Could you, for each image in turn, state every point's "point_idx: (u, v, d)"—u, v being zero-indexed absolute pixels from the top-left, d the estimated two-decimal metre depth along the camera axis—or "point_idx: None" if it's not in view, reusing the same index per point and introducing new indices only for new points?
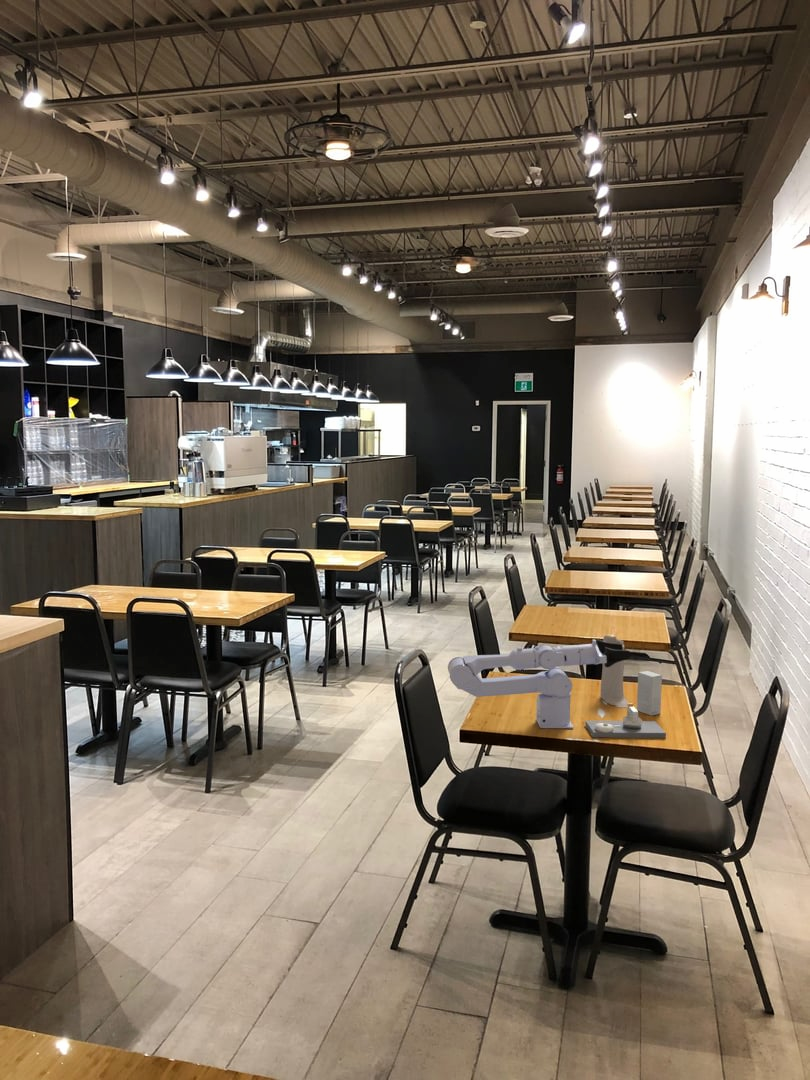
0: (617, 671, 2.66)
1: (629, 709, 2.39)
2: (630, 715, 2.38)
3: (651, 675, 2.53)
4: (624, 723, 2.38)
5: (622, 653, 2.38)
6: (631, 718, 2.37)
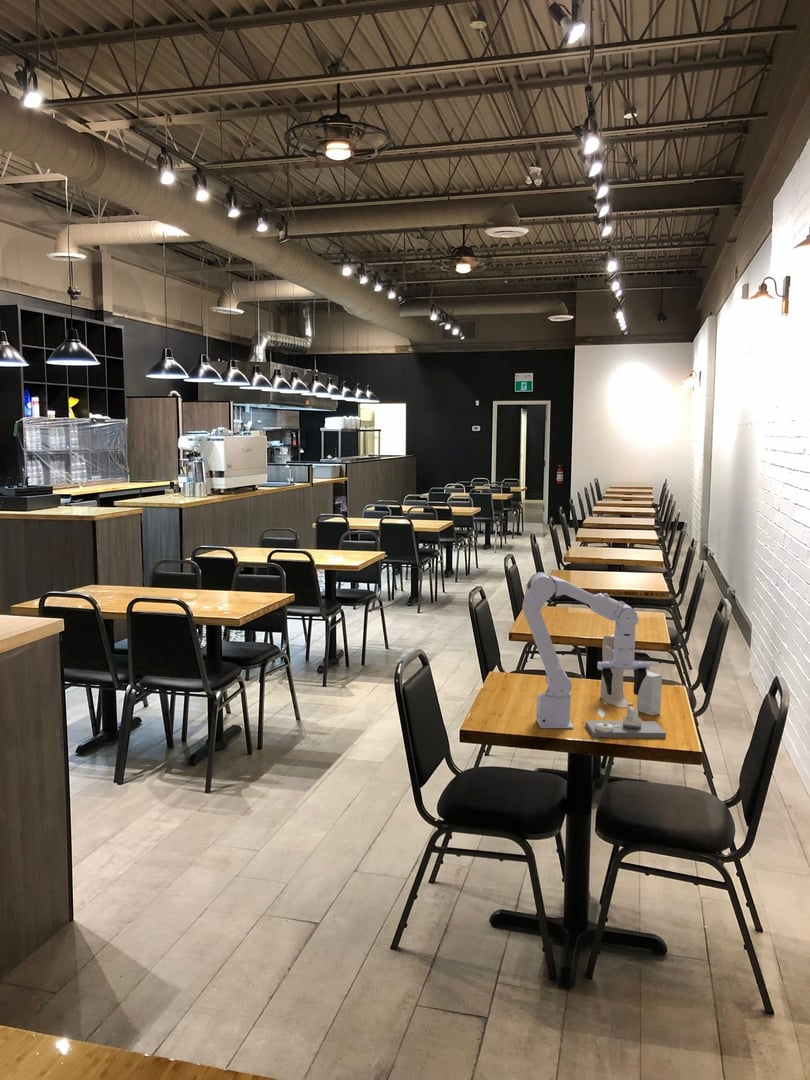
0: (617, 671, 2.66)
1: (629, 709, 2.39)
2: (630, 715, 2.38)
3: (651, 675, 2.53)
4: (624, 723, 2.38)
5: (608, 687, 2.42)
6: (631, 718, 2.37)
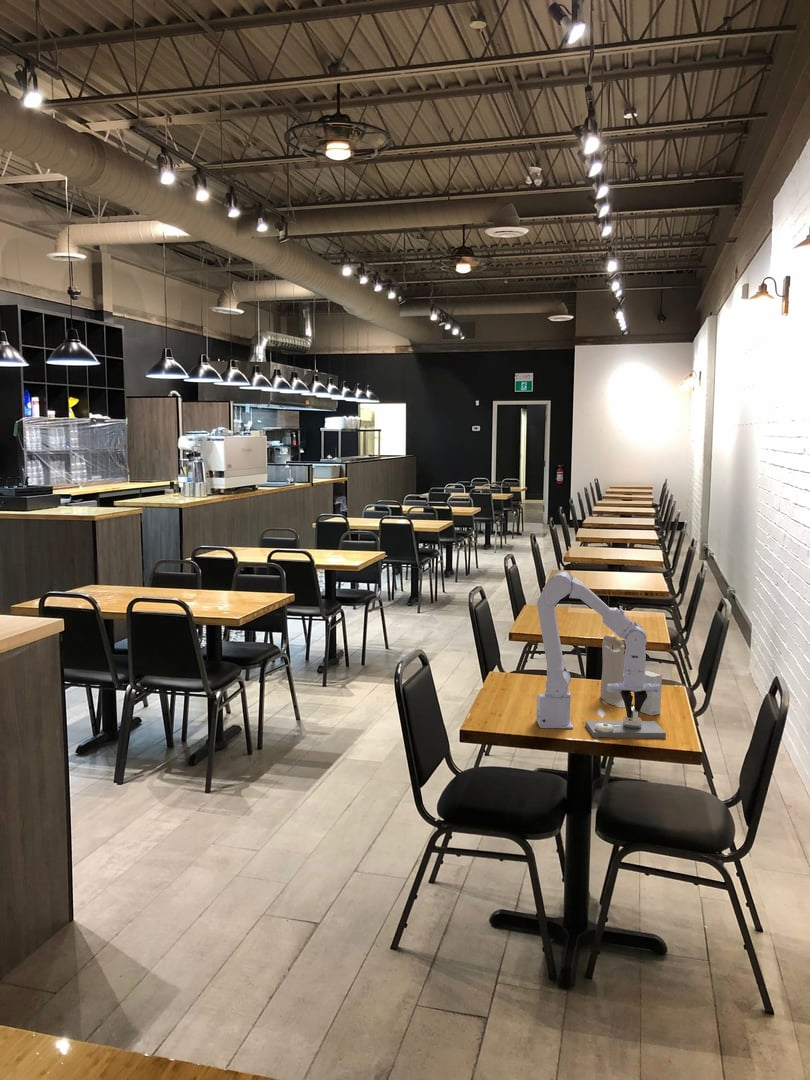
0: (617, 671, 2.66)
1: None
2: None
3: (651, 675, 2.53)
4: (624, 723, 2.38)
5: (628, 710, 2.37)
6: (631, 718, 2.37)
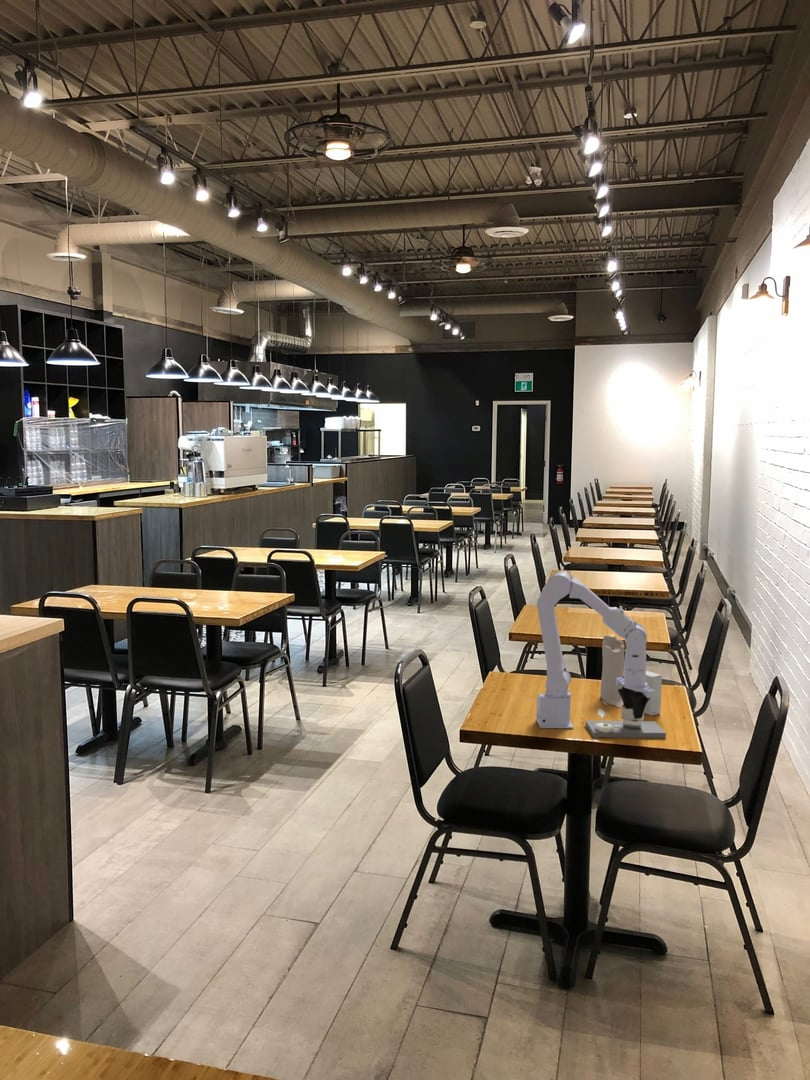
0: (617, 671, 2.66)
1: (630, 710, 2.37)
2: None
3: (651, 675, 2.53)
4: (635, 725, 2.36)
5: (641, 711, 2.36)
6: None
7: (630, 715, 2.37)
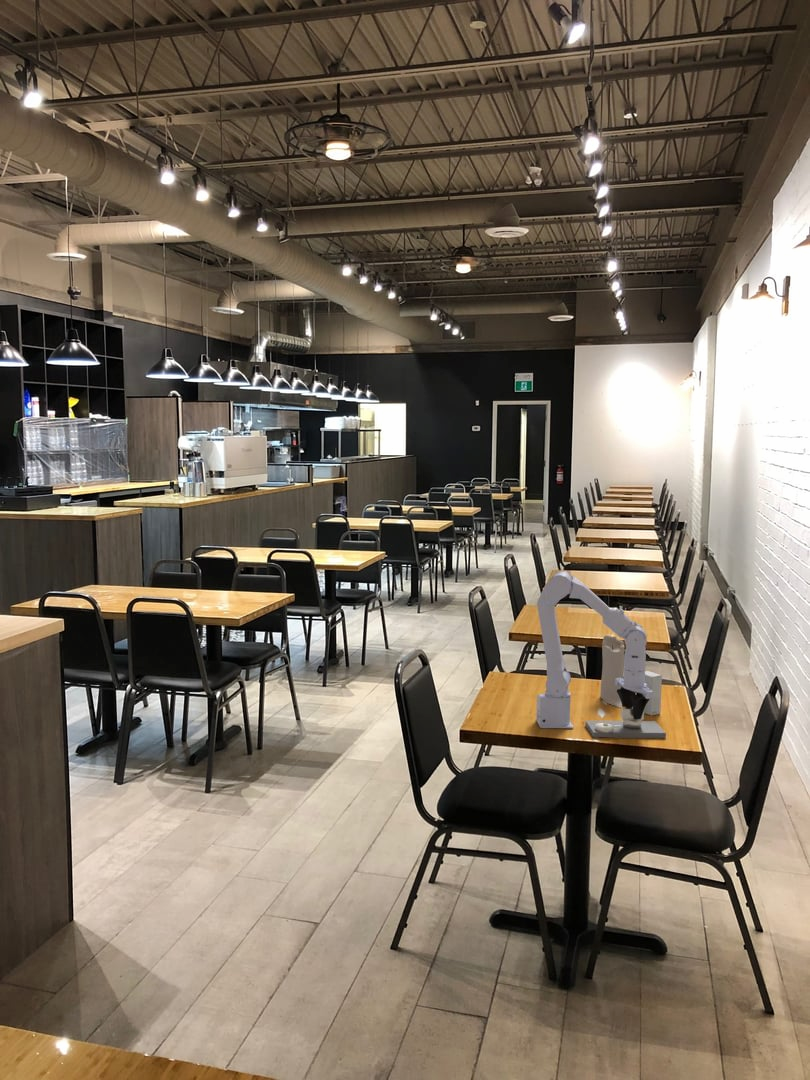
0: (617, 671, 2.66)
1: (630, 711, 2.37)
2: None
3: (651, 675, 2.53)
4: (636, 725, 2.36)
5: (640, 712, 2.36)
6: None
7: (630, 715, 2.37)
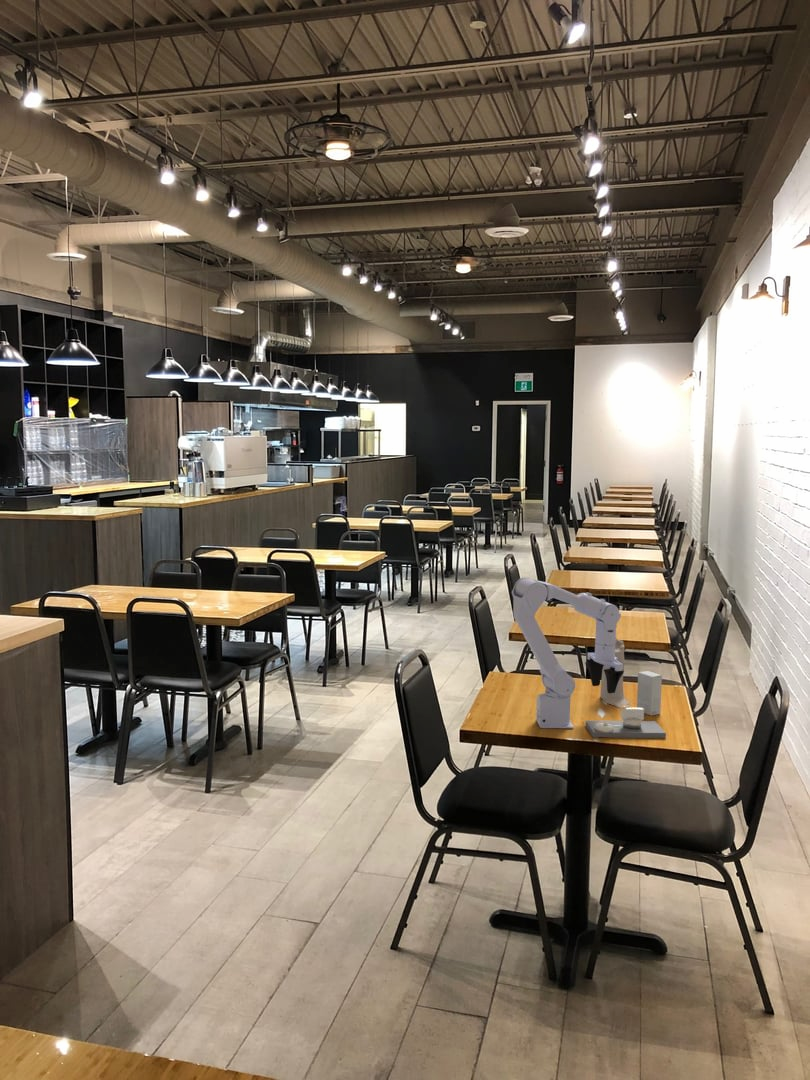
0: None
1: (630, 711, 2.37)
2: (634, 715, 2.37)
3: (651, 675, 2.53)
4: (637, 725, 2.36)
5: (614, 685, 2.43)
6: (638, 717, 2.37)
7: (631, 715, 2.37)
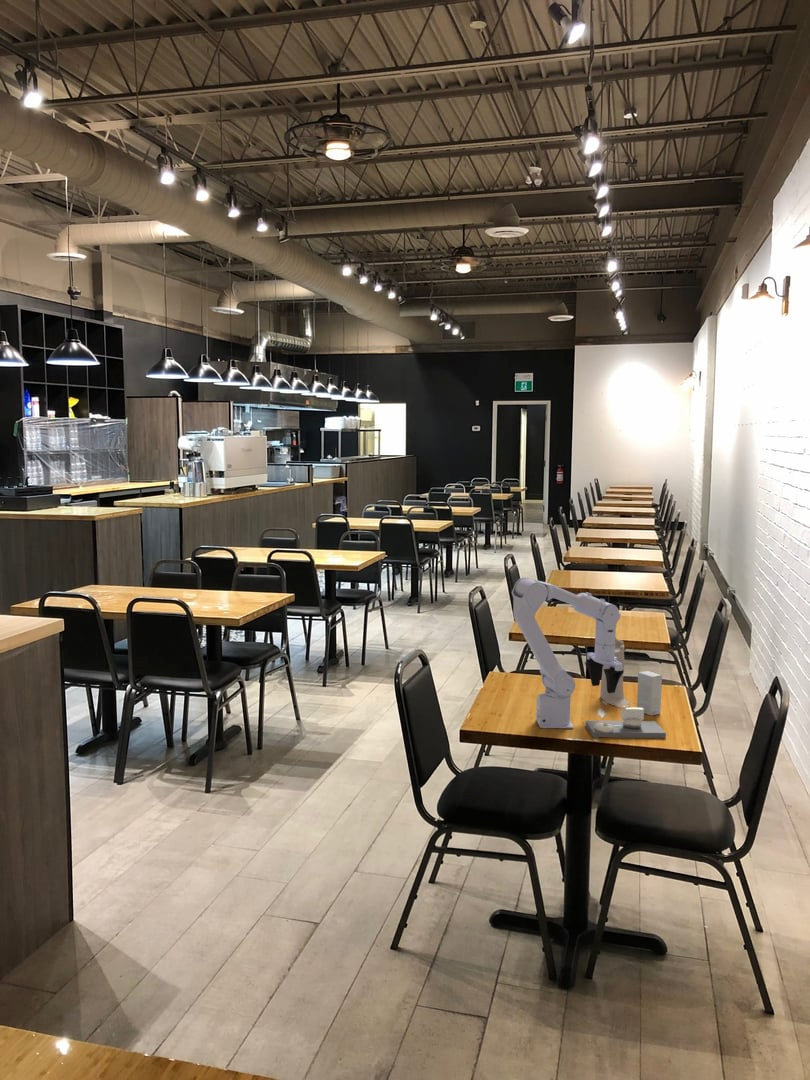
0: None
1: (630, 711, 2.37)
2: (634, 715, 2.37)
3: (651, 675, 2.53)
4: (637, 725, 2.36)
5: (614, 685, 2.43)
6: (638, 717, 2.37)
7: (631, 715, 2.37)
